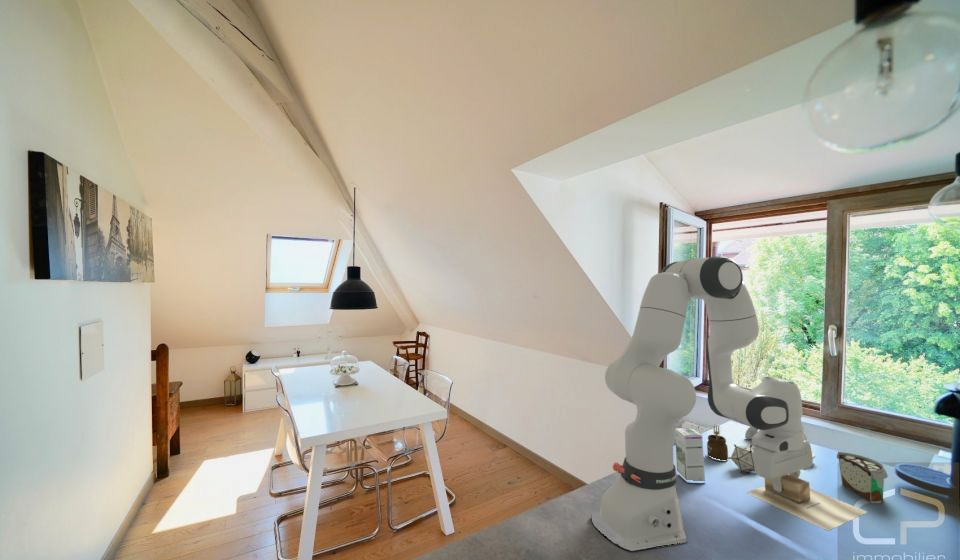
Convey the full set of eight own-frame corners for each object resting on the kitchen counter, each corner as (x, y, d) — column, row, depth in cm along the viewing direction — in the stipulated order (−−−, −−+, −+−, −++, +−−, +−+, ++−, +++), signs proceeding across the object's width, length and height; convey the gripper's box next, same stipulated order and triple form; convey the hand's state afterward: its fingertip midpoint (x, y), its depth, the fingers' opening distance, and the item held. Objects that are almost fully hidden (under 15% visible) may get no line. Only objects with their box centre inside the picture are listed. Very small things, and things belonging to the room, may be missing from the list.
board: (828, 536, 83) (827, 530, 84) (746, 496, 100) (745, 492, 100) (868, 516, 90) (868, 511, 90) (785, 482, 107) (785, 478, 107)
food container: (904, 513, 91) (901, 473, 92) (875, 510, 93) (873, 471, 93) (863, 487, 103) (861, 452, 104) (838, 486, 105) (836, 451, 105)
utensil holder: (727, 456, 125) (725, 421, 125) (728, 463, 119) (726, 427, 120) (707, 452, 128) (705, 418, 129) (707, 459, 123) (705, 424, 123)
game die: (753, 486, 112) (765, 470, 106) (722, 469, 117) (731, 453, 111) (759, 464, 117) (770, 447, 112) (729, 449, 122) (738, 432, 117)
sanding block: (799, 504, 94) (798, 486, 94) (765, 489, 101) (764, 472, 102) (810, 499, 96) (809, 482, 96) (776, 485, 103) (775, 469, 104)
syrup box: (706, 483, 107) (703, 434, 108) (686, 484, 107) (683, 434, 108) (695, 474, 113) (692, 427, 114) (676, 474, 113) (674, 427, 114)
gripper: (792, 427, 106) (794, 475, 106) (747, 438, 99) (750, 490, 98) (818, 434, 101) (821, 485, 100) (773, 447, 93) (776, 502, 92)
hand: (785, 488), depth 99 cm, fingers closed on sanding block, 5 cm apart
